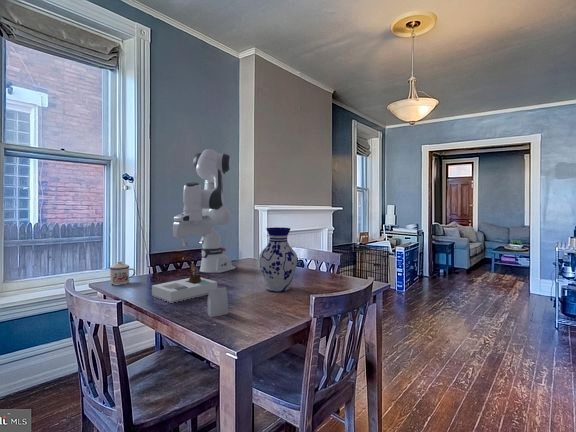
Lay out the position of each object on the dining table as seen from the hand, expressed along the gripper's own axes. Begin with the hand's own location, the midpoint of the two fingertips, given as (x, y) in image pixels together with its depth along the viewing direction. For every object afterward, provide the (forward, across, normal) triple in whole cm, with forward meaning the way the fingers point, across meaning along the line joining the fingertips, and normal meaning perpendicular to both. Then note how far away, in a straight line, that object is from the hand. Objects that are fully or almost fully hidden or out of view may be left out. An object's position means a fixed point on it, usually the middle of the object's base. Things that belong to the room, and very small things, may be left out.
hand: (193, 245), depth 164 cm
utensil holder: (+21, +3, +4) cm, 21 cm away
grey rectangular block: (+21, +15, +37) cm, 45 cm away
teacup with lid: (+22, +18, -38) cm, 47 cm away
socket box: (+22, +8, +4) cm, 23 cm away
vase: (+22, -27, +31) cm, 46 cm away
